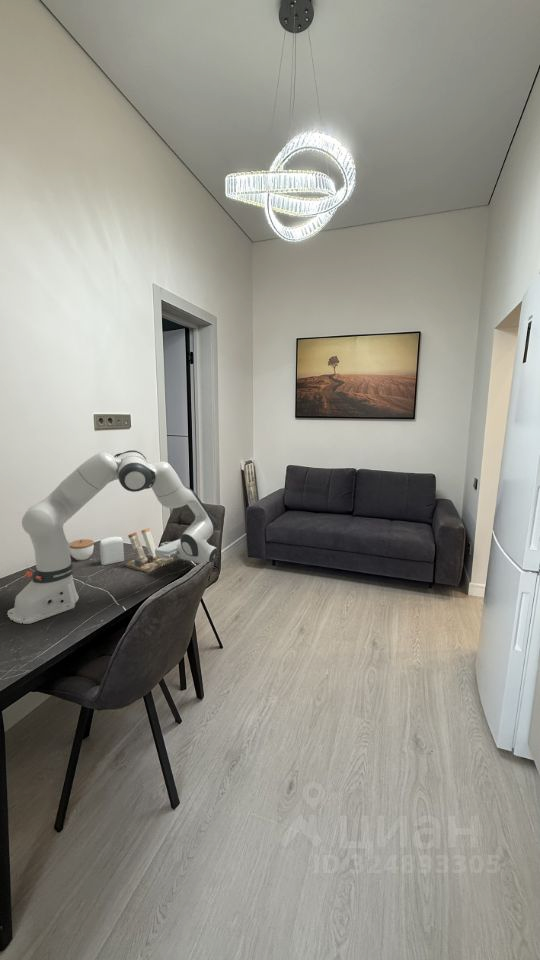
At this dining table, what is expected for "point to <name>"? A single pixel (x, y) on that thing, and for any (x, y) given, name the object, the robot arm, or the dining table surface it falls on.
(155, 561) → the console
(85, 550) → the lidded jar
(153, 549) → the lever
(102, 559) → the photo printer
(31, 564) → the dining table surface
